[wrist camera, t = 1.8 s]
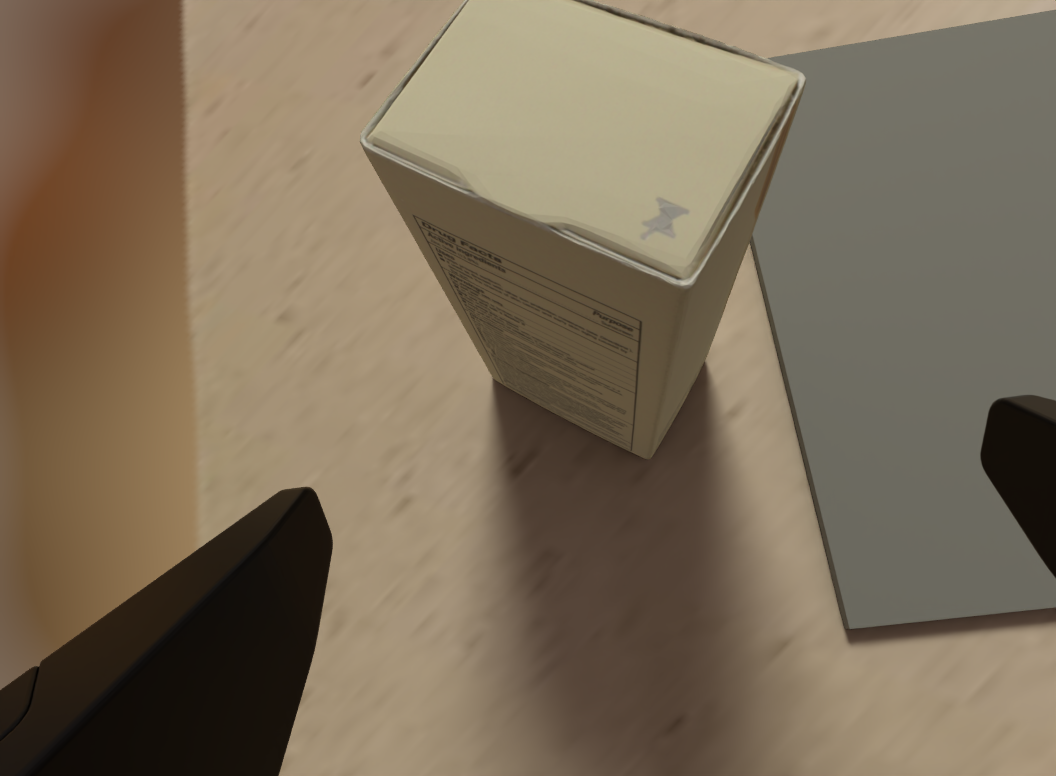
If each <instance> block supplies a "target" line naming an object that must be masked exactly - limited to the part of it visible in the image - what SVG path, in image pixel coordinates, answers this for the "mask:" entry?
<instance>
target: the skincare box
mask: <svg viewBox="0 0 1056 776" xmlns="http://www.w3.org/2000/svg"><path fill="white" fill-rule="evenodd" d="M805 85H806V78H805V76H804V75H803V73H801V72H799V71H798V70H796V69H794V68H791V67H787V66H784V65H781V64H779V63H776V62H773V61H771V60H769V59H767V58H764V57H761V56H758V55H755V54H753V53H750V52H747V51H744V50H742V49H739V48H737V47H735V46H730V45H727V44H725V43H722V42H720V41H717V40H714V39H710V38H707V37H704V36H703V35H700V34H697V33H693V32H689V31H687V30H684V29H681V28H678V27H676V26H672V25H668V24H665V23H662V22H659V21H656V20H653V19H650V18H648V17H645V16H642V15H638V14H635V13H631V12H628V11H625V10H622V9H619V8H616V7H613V6H610V5H606V4H603V3H600V2H597V1H594V0H464V1H463V2H462V3H461V5H460V6H459V7H458V8H457V9H456V10H455V12H454V13H453V14H452V15H451V17H450V18H449V19H448V21H447V22H446V23H445V24H444V26H443V27H442V28H441V29H440V31H439V32H438V33H437V34H436V36H435V37H434V38H433V39H432V40H431V41H430V43H429V44H428V46H427V47H426V48H425V50H424V51H423V52H422V54H421V55H420V56H419V58H418V59H417V60H416V62H415V63H414V64H413V66H412V67H411V68H410V69H409V70H408V72H407V73H406V74H405V75H404V77H403V78H402V79H401V81H400V82H399V83H398V84H397V85H396V87H395V88H394V89H393V91H392V92H391V93H390V95H389V96H388V98H387V99H386V100H385V102H384V103H383V104H382V105H381V107H380V108H379V109H378V111H377V112H376V113H375V115H374V116H373V117H372V118H371V120H370V121H369V122H368V124H367V125H366V126H365V128H364V129H363V130H362V132H361V135H360V143H361V145H362V147H363V149H364V151H365V153H366V155H367V157H368V159H369V160H370V162H371V164H372V166H373V167H374V169H375V171H376V173H377V174H378V176H379V178H380V180H381V181H382V183H383V185H384V187H385V188H386V190H387V192H388V194H389V195H390V197H391V199H392V201H393V202H394V204H395V206H396V208H397V209H398V211H399V213H400V215H401V216H402V218H403V220H404V222H405V223H406V225H407V227H408V228H409V230H410V232H411V234H412V235H413V237H414V239H415V241H416V243H417V244H418V246H419V248H420V250H421V252H422V253H423V255H424V257H425V259H426V260H427V262H428V264H429V266H430V267H431V269H432V271H433V273H434V275H435V276H436V278H437V280H438V282H439V283H440V285H441V287H442V289H443V290H444V292H445V294H446V296H447V297H448V299H449V301H450V303H451V305H452V306H453V308H454V310H455V311H456V313H457V315H458V317H459V318H460V320H461V322H462V324H463V326H464V327H465V329H466V331H467V333H468V334H469V336H470V338H471V340H472V341H473V343H474V345H475V347H476V349H477V351H478V352H479V354H480V356H481V358H482V359H483V361H484V363H485V364H486V366H487V368H488V370H489V372H490V374H491V375H492V377H493V378H494V379H495V380H496V381H498V382H499V383H501V384H503V385H505V386H506V387H508V388H510V389H511V390H513V391H515V392H517V393H518V394H520V395H522V396H524V397H526V398H527V399H529V400H531V401H533V402H535V403H536V404H538V405H540V406H542V407H544V408H545V409H547V410H549V411H551V412H553V413H555V414H557V415H559V416H560V417H562V418H564V419H566V420H568V421H570V422H572V423H574V424H576V425H578V426H580V427H581V428H583V429H585V430H587V431H589V432H591V433H593V434H595V435H597V436H599V437H601V438H603V439H605V440H607V441H609V442H611V443H613V444H615V445H617V446H619V447H621V448H623V449H625V450H628V451H630V452H632V453H634V454H636V455H638V456H640V457H642V458H644V459H650V458H652V456H653V455H654V453H655V451H656V450H657V448H658V446H659V445H660V443H661V441H662V440H663V438H664V436H665V434H666V433H667V431H668V429H669V428H670V426H671V424H672V422H673V421H674V419H675V417H676V415H677V414H678V412H679V410H680V408H681V406H682V405H683V403H684V401H685V399H686V397H687V395H688V394H689V392H690V390H691V388H692V386H693V384H694V382H695V380H696V378H697V376H698V374H699V372H700V370H701V368H702V366H703V364H704V362H705V360H706V357H707V355H708V352H709V349H710V347H711V344H712V341H713V339H714V336H715V333H716V331H717V328H718V325H719V323H720V320H721V318H722V315H723V312H724V309H725V306H726V303H727V300H728V298H729V295H730V293H731V290H732V287H733V284H734V282H735V279H736V276H737V273H738V271H739V268H740V265H741V263H742V260H743V258H744V255H745V252H746V250H747V247H748V244H749V242H750V239H751V236H752V233H753V231H754V228H755V225H756V222H757V219H758V216H759V214H760V211H761V208H762V206H763V203H764V200H765V198H766V195H767V192H768V190H769V187H770V184H771V181H772V178H773V176H774V173H775V170H776V167H777V164H778V161H779V159H780V156H781V153H782V150H783V148H784V145H785V142H786V139H787V137H788V134H789V131H790V128H791V125H792V122H793V120H794V117H795V114H796V111H797V108H798V106H799V103H800V100H801V97H802V94H803V91H804V88H805Z"/></svg>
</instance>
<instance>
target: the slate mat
mask: <svg viewBox="0 0 1056 776" xmlns="http://www.w3.org/2000/svg"><path fill="white" fill-rule="evenodd" d="M767 59H769V60H771V61H773V62H776V63H779V64H781V65H784V66H787V67H791V68H794V69H796V70H798V71H799V72H801V73H803V75H804V76H805V78H806V85H805V88H804V91H803V94H802V97H801V100H800V103H799V106H798V108H797V111H796V114H795V117H794V120H793V122H792V125H791V128H790V131H789V134H788V137H787V139H786V142H785V145H784V148H783V150H782V153H781V156H780V159H779V161H778V164H777V167H776V170H775V173H774V176H773V178H772V181H771V184H770V187H769V190H768V192H767V195H766V198H765V200H764V203H763V206H762V208H761V211H760V214H759V216H758V219H757V222H756V225H755V228H754V231H753V233H752V236H751V239H750V243H751V247H752V251H753V255H754V259H755V264H756V268H757V272H758V276H759V280H760V284H761V288H762V292H763V296H764V300H765V304H766V309H767V313H768V317H769V321H770V325H771V329H772V333H773V337H774V341H775V345H776V349H777V354H778V358H779V362H780V366H781V370H782V374H783V378H784V382H785V386H786V390H787V394H788V399H789V403H790V407H791V411H792V415H793V419H794V423H795V427H796V431H797V435H798V439H799V444H800V448H801V452H802V456H803V460H804V464H805V468H806V472H807V476H808V480H809V484H810V488H811V493H812V497H813V501H814V505H815V509H816V513H817V517H818V521H819V525H820V529H821V533H822V538H823V542H824V546H825V550H826V554H827V558H828V562H829V566H830V570H831V574H832V578H833V583H834V587H835V591H836V595H837V599H838V603H839V607H840V611H841V615H842V619H843V623H844V628H846V629H856V628H865V627H875V626H884V625H894V624H903V623H913V622H922V621H932V620H941V619H951V618H960V617H970V616H979V615H988V614H998V613H1007V612H1017V611H1026V610H1036V609H1045V608H1055V607H1056V578H1055V577H1054V576H1053V574H1052V573H1051V572H1050V570H1049V569H1048V568H1047V566H1046V565H1045V563H1044V562H1043V560H1042V559H1041V558H1040V556H1039V555H1038V553H1037V552H1036V550H1035V549H1034V547H1033V546H1032V544H1031V543H1030V541H1029V539H1028V538H1027V536H1026V535H1025V533H1024V532H1023V530H1022V529H1021V527H1020V526H1019V524H1018V523H1017V521H1016V519H1015V518H1014V516H1013V515H1012V513H1011V512H1010V510H1009V509H1008V507H1007V506H1006V504H1005V503H1004V501H1003V499H1002V498H1001V496H1000V495H999V493H998V492H997V490H996V489H995V487H994V486H993V484H992V483H991V481H990V479H989V478H988V476H987V475H986V473H985V471H984V469H983V467H982V464H981V458H980V452H981V446H982V441H983V436H984V431H985V427H986V422H987V417H988V412H989V409H990V406H991V405H992V403H993V402H994V401H996V400H997V399H999V398H1005V397H1012V396H1020V395H1036V396H1040V397H1044V398H1048V399H1052V400H1056V10H1052V11H1046V12H1040V13H1034V14H1028V15H1022V16H1016V17H1010V18H1004V19H998V20H992V21H986V22H980V23H975V24H969V25H963V26H957V27H951V28H945V29H939V30H933V31H927V32H921V33H915V34H909V35H903V36H897V37H891V38H885V39H879V40H873V41H867V42H861V43H855V44H849V45H843V46H837V47H831V48H826V49H820V50H814V51H808V52H802V53H796V54H790V55H784V56H778V57H772V58H767Z"/></svg>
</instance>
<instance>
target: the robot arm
mask: <svg viewBox="0 0 1056 776" xmlns="http://www.w3.org/2000/svg"><path fill="white" fill-rule="evenodd" d="M980 458H981V464H982V467H983V469H984V471H985V473H986V475H987V476H988V478H989V479H990V481H991V483H992V484H993V486H994V487H995V489H996V490H997V492H998V493H999V495H1000V496H1001V498H1002V499H1003V501H1004V503H1005V504H1006V506H1007V507H1008V509H1009V510H1010V512H1011V513H1012V515H1013V516H1014V518H1015V519H1016V521H1017V523H1018V524H1019V526H1020V527H1021V529H1022V530H1023V532H1024V533H1025V535H1026V536H1027V538H1028V539H1029V541H1030V543H1031V544H1032V546H1033V547H1034V549H1035V550H1036V552H1037V553H1038V555H1039V556H1040V558H1041V559H1042V560H1043V562H1044V563H1045V565H1046V566H1047V568H1048V569H1049V570H1050V572H1051V573H1052V574H1053V576H1054V577H1055V578H1056V400H1052V399H1048V398H1044V397H1040V396H1036V395H1020V396H1012V397H1005V398H999V399H997V400H996V401H994V402H993V403H992V405H991V406H990V409H989V412H988V417H987V422H986V427H985V431H984V436H983V441H982V446H981V452H980ZM332 549H333V540H332V534H331V531H330V528H329V525H328V523H327V520H326V517H325V515H324V512H323V509H322V507H321V504H320V501H319V499H318V496H317V494H316V492H315V491H314V490H313V489H312V488H310V487H300V488H292V489H284V490H281V491H279V492H278V493H276V494H275V495H274V496H272V497H271V498H269V499H268V500H267V501H265V502H264V503H262V504H261V505H260V506H258V507H257V508H255V509H254V510H253V511H251V512H250V513H248V514H247V515H246V516H244V517H243V518H241V519H240V520H239V521H237V522H236V523H234V524H233V525H232V526H230V527H229V528H227V529H226V530H225V531H223V532H222V533H220V534H219V535H218V536H216V537H215V538H213V539H212V540H211V541H209V542H208V543H206V544H205V545H204V546H202V547H201V548H199V549H198V550H196V551H195V552H194V553H192V554H191V555H190V556H188V557H187V558H185V559H184V560H182V561H181V562H180V563H178V564H177V565H175V566H174V567H173V568H172V569H170V570H168V571H167V572H166V573H164V574H163V575H161V576H160V577H159V578H157V579H156V580H154V581H153V582H152V583H150V584H149V585H147V586H146V587H145V588H143V589H142V590H140V591H139V592H138V593H136V594H135V595H133V596H132V597H131V598H129V599H128V600H126V601H125V602H124V603H122V604H121V605H119V606H118V607H117V608H115V609H114V610H112V611H111V612H109V613H108V614H107V615H105V616H104V617H103V618H101V619H100V620H98V621H97V622H95V623H94V624H93V625H91V626H90V627H88V628H87V629H86V630H84V631H83V632H81V633H80V634H79V635H77V636H76V637H74V638H73V639H72V640H70V641H69V642H67V643H66V644H65V645H63V646H62V647H61V648H59V649H58V650H56V651H55V652H53V653H52V654H51V655H50V656H48V657H46V658H45V659H44V660H42V661H41V663H40V666H39V667H37V666H34V667H32V668H31V669H29V670H28V671H26V672H25V673H24V674H22V675H21V676H19V677H18V678H17V679H15V680H14V681H12V682H11V683H10V684H8V685H7V686H5V687H4V688H3V689H2V690H0V776H279V772H280V769H281V766H282V762H283V759H284V755H285V752H286V748H287V745H288V741H289V738H290V735H291V731H292V728H293V724H294V721H295V717H296V714H297V711H298V707H299V704H300V700H301V697H302V693H303V690H304V687H305V683H306V680H307V676H308V673H309V669H310V666H311V662H312V658H313V654H314V651H315V646H316V641H317V636H318V631H319V625H320V620H321V614H322V608H323V602H324V596H325V590H326V585H327V579H328V573H329V567H330V561H331V556H332Z"/></svg>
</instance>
